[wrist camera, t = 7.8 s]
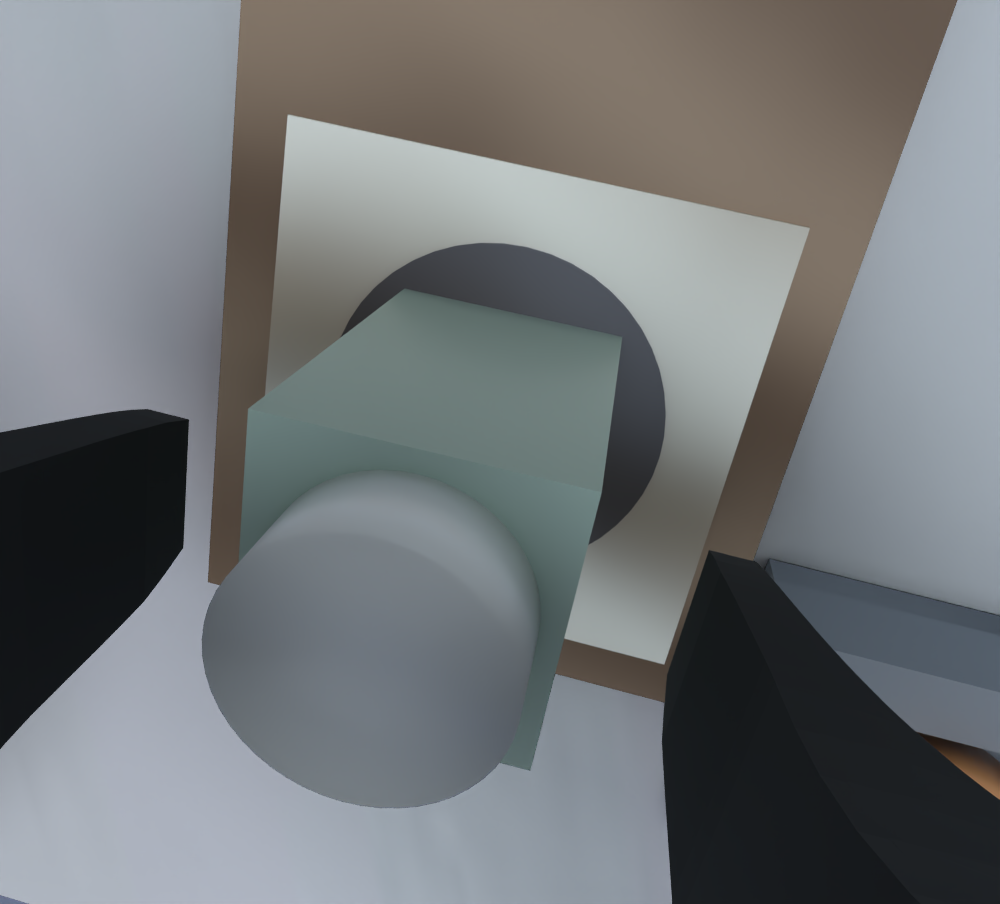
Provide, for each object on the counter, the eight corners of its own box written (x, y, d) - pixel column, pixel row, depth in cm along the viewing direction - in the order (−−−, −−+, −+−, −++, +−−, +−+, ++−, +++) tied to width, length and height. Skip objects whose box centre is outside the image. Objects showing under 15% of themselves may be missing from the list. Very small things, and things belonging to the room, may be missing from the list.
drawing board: (696, 687, 19) (698, 717, 18) (224, 563, 20) (203, 586, 19) (979, -103, 13) (1005, -119, 12) (277, -233, 14) (249, -257, 13)
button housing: (975, 890, 20) (1023, 1009, 17) (675, 809, 20) (678, 912, 18) (1122, 646, 17) (1206, 745, 14) (769, 558, 17) (789, 638, 15)
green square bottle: (574, 531, 17) (511, 868, 9) (378, 484, 17) (170, 775, 10) (622, 336, 15) (593, 561, 8) (404, 288, 15) (180, 461, 8)
